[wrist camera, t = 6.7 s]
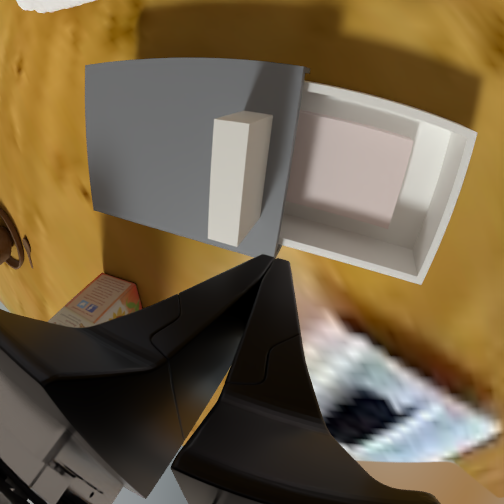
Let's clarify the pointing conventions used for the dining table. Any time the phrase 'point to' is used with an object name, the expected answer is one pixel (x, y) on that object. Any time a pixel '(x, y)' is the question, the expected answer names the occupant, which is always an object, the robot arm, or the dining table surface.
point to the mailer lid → (194, 146)
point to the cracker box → (99, 303)
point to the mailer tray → (372, 181)
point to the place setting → (3, 242)
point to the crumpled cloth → (49, 4)
